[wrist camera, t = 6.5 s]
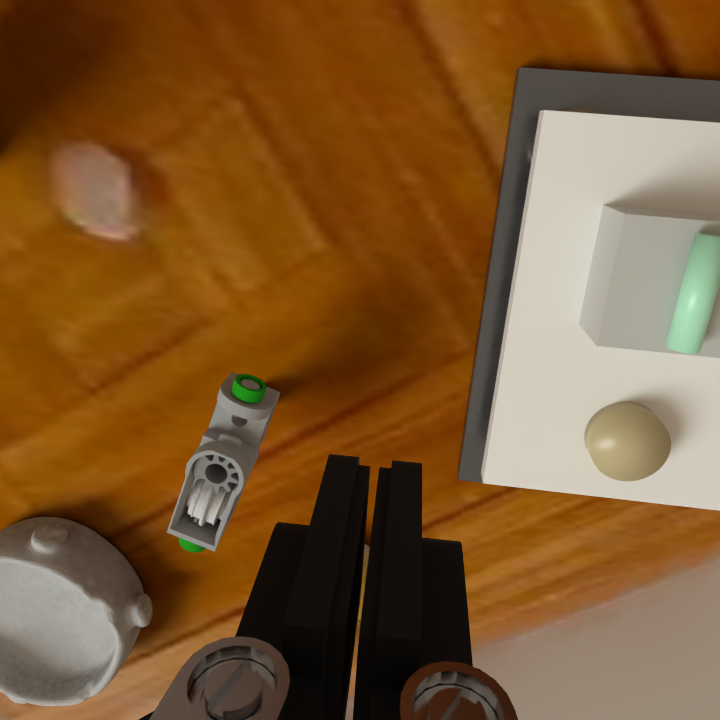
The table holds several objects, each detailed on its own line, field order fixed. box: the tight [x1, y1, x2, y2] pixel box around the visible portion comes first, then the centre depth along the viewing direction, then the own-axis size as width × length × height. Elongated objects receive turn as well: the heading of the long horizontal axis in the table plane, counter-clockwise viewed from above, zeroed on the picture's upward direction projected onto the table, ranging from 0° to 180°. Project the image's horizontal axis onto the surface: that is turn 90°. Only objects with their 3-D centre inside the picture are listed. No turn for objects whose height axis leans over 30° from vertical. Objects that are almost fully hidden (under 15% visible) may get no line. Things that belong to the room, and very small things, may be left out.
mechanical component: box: [167, 373, 280, 552], centre depth 35 cm, size 3×10×10 cm, turn 158°
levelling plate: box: [481, 110, 720, 510], centre depth 30 cm, size 20×14×6 cm
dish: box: [0, 517, 153, 706], centre depth 45 cm, size 14×14×5 cm
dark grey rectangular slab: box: [457, 67, 720, 483], centre depth 34 cm, size 24×16×3 cm, turn 176°
